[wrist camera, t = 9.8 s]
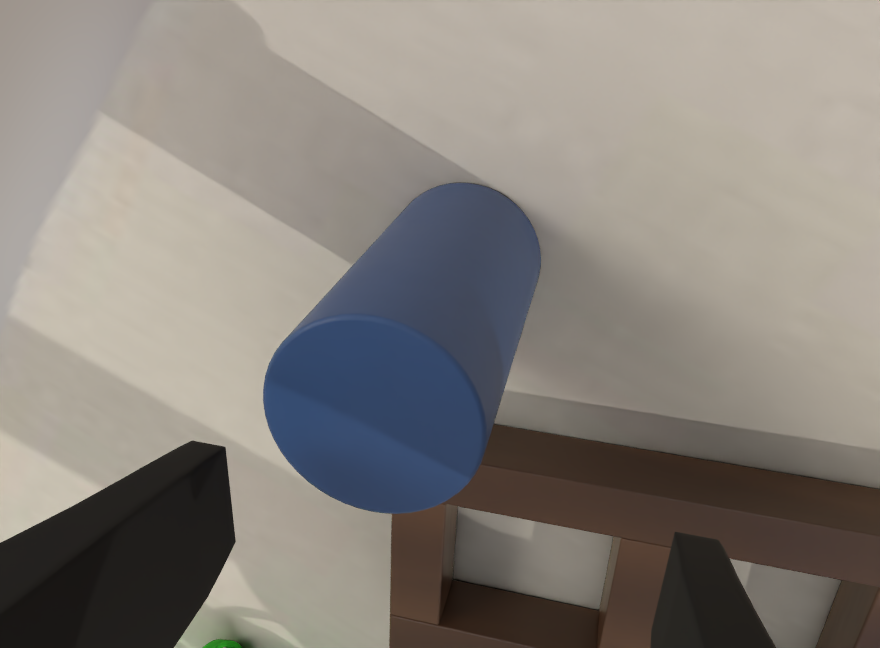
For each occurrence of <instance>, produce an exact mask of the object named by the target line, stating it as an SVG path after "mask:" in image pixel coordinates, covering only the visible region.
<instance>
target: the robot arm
mask: <svg viewBox="0 0 880 648" xmlns="http://www.w3.org/2000/svg"><path fill="white" fill-rule="evenodd" d="M234 544H235V532H234V523H233V514H232V504H231V495H230V486H229V476H228V467H227V458H226V448H225V447H223V446H217V445H212V444H207V443H201V442H196V441H191V442H189V443H187V444H185V445H183V446H180V447H179V448H177V449H175V450H173V451H171V452H169V453H167V454H166V455H164V456H162V457H160V458H158V459H156V460H155V461H153V462H151V463H149V464H148V465H146V466H144V467H142V468H140V469H139V470H137V471H135V472H133V473H132V474H130V475H128V476H126V477H125V478H123V479H121V480H119V481H117V482H116V483H114V484H112V485H110V486H108V487H107V488H105V489H103V490H101V491H99V492H98V493H96V494H94V495H92V496H90V497H88V498H87V499H85V500H83V501H81V502H79V503H78V504H76V505H74V506H72V507H70V508H68V509H66V510H64V511H62V512H60V513H58V514H57V515H55V516H53V517H51V518H49V519H47V520H45V521H43V522H41V523H39V524H37V525H35V526H33V527H31V528H29V529H27V530H25V531H23V532H21V533H19V534H17V535H15V536H13V537H11V538H9V539H7V540H5V541H3V542H1V543H0V648H174V646H175V645H176V643H177V642H178V640H179V639H180V637H181V636H182V635H183V633H184V632H185V630H186V629H187V627H188V626H189V624H190V623H191V621H192V620H193V618H194V617H195V615H196V614H197V612H198V611H199V609H200V608H201V606H202V605H203V603H204V602H205V600H206V599H207V597H208V595H209V593H210V591H211V590H212V588H213V586H214V584H215V582H216V580H217V578H218V576H219V574H220V572H221V570H222V568H223V566H224V564H225V562H226V560H227V558H228V556H229V554H230V552H231V550H232V548H233V546H234ZM651 648H776V647H775V645H774V643H773V641H772V640H771V638H770V636H769V635H768V633H767V631H766V629H765V627H764V626H763V624H762V622H761V620H760V618H759V616H758V615H757V613H756V611H755V609H754V607H753V605H752V603H751V601H750V599H749V597H748V596H747V594H746V592H745V590H744V588H743V586H742V584H741V582H740V580H739V578H738V576H737V574H736V572H735V570H734V567H733V565H732V563H731V561H730V559H729V557H728V555H727V553H726V550H725V548H724V547H723V545H722V544H721V543H720V541H719V540H717V539H712V538H707V537H701V536H696V535H691V534H685V533H680V532H675V533H674V537H673V541H672V546H671V550H670V554H669V558H668V562H667V566H666V571H665V575H664V579H663V583H662V587H661V592H660V596H659V600H658V604H657V608H656V613H655V617H654V621H653V625H652V629H651Z"/></svg>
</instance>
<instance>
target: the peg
mask: <svg viewBox="0 0 880 648" xmlns="http://www.w3.org/2000/svg"><path fill="white" fill-rule="evenodd" d="M540 268H541V253H540V246H539V242H538V238H537V236H536V233H535V230H534V228H533V226H532V225H531V223H530V221H529V219H528V218H527V217H526V215H525V214H524V213H523V211H522V210H521V209H520V208H519V207H518V206H517V205H516V204H515V203H513V202H512V201H511V200H510V199H508V198H507V197H505V196H504V195H502V194H501V193H499V192H497V191H495V190H493V189H490V188H488V187H484V186H481V185H477V184H471V183H450V184H445V185H441V186H437V187H435V188H432V189H430V190H428V191H426V192H424V193H422V194H421V195H419V196H418V197H417V198H415V199H414V200H413V201H412V202H411V203H410V204H409V205H408V206H407V207H406V208H405V209H404V210H403V211H402V212H401V214H400V215H399V216H398V217H397V218H396V219H395V220H394V221H393V222H392V223H391V224H390V226H389V227H388V228H387V229H386V230H385V231H384V232H383V233H382V234H381V235H380V236H379V238H378V239H377V240H376V241H375V242H374V243H373V244H372V245H371V246H370V247H369V248H368V250H367V251H366V252H365V253H364V254H363V255H362V256H361V257H360V258H359V259H358V260H357V262H356V263H355V264H354V265H353V266H352V267H351V268H350V269H349V270H348V271H347V272H346V274H345V275H344V276H343V277H342V278H341V279H340V280H339V281H338V282H337V283H336V284H335V286H334V287H333V288H332V289H331V290H330V291H329V292H328V293H327V294H326V295H325V296H324V298H323V299H322V300H321V301H320V302H319V303H318V304H317V305H316V306H315V307H314V308H313V310H312V311H311V312H310V313H309V314H308V315H307V316H306V317H305V318H304V319H303V320H302V322H301V323H300V324H299V325H298V326H297V327H296V328H295V329H294V330H293V331H292V332H291V334H290V335H289V336H288V337H287V338H286V339H285V340H284V341H283V342H282V343H281V345H280V346H279V348H278V349H277V350H276V352H275V353H274V355H273V357H272V359H271V361H270V363H269V366H268V369H267V372H266V375H265V382H264V389H263V403H264V410H265V416H266V419H267V423H268V426H269V429H270V431H271V434H272V436H273V438H274V440H275V442H276V444H277V446H278V447H279V449H280V451H281V452H282V454H283V455H284V456H285V458H286V459H287V460H288V462H289V463H290V464H291V465H292V466H293V467H294V469H295V470H296V471H297V472H298V473H299V474H300V475H301V476H303V477H304V478H305V479H306V480H307V481H308V482H309V483H311V484H312V485H314V486H315V487H316V488H318V489H319V490H320V491H322V492H324V493H325V494H327V495H329V496H330V497H332V498H334V499H337V500H339V501H341V502H343V503H345V504H348V505H351V506H354V507H356V508H360V509H364V510H368V511H373V512H379V513H392V514H400V513H412V512H417V511H422V510H426V509H429V508H432V507H435V506H437V505H439V504H441V503H443V502H445V501H447V500H448V499H450V498H451V497H453V496H454V495H456V494H457V493H459V492H460V491H461V490H462V489H463V488H464V487H465V486H466V485H467V484H468V483H469V482H470V480H471V479H472V478H473V476H474V475H475V474H476V472H477V470H478V468H479V466H480V464H481V462H482V459H483V456H484V453H485V450H486V447H487V444H488V440H489V437H490V434H491V431H492V427H493V424H494V421H495V418H496V414H497V411H498V408H499V405H500V401H501V398H502V395H503V392H504V388H505V385H506V382H507V378H508V375H509V372H510V369H511V365H512V362H513V359H514V356H515V352H516V349H517V346H518V343H519V339H520V336H521V333H522V330H523V326H524V323H525V320H526V317H527V313H528V310H529V307H530V304H531V300H532V297H533V294H534V291H535V287H536V284H537V281H538V278H539V273H540Z"/></svg>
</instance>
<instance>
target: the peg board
mask: <svg viewBox="0 0 880 648" xmlns="http://www.w3.org/2000/svg"><path fill="white" fill-rule="evenodd" d="M458 506H459V507H464V508H470V509H475V510H480V511H485V512H490V513H496V514H501V515H506V516H511V517H517V518H522V519H527V520H532V521H537V522H543V523H548V524H553V525H558V526H563V527H569V528H574V529H579V530H584V531H589V532H595V533H600V534H605V535H610V536H614V537H613V542H612V547H611V552H610V557H609V563H608V568H607V573H606V578H605V583H604V588H603V594H602V599H601V604H600V609H599V611H598V610H593V609H588V608H584V607H579V606H574V605H569V604H565V603H560V602H555V601H551V600H546V599H541V598H536V597H532V596H527V595H522V594H517V593H513V592H508V591H503V590H498V589H494V588H489V587H484V586H480V585H475V584H470V583H465V582H461V581H456V580H452V579H453V566H454V552H455V537H456V522H457V508H458ZM675 532H680V533H685V534H691V535H696V536H701V537H707V538H712V539H717V540H719V541H720V543H721V544H722V545H723V547H724V548H725V550H726V553H727V555H728V557H729V558H730V559H735V560H741V561H746V562H751V563H756V564H761V565H767V566H772V567H777V568H782V569H787V570H793V571H798V572H803V573H808V574H813V575H819V576H824V577H829V578H834V579H840V580H842V582H841V585H840V587H839V590H838V592H837V595H836V597H835V600H834V603H833V605H832V608H831V610H830V613H829V615H828V618H827V621H826V623H825V626H824V628H823V631H822V633H821V636H820V639H819V641H818V644H817V646H816V648H880V489H874V488H868V487H862V486H856V485H850V484H844V483H838V482H832V481H826V480H820V479H815V478H809V477H803V476H797V475H791V474H785V473H779V472H773V471H767V470H761V469H755V468H750V467H744V466H738V465H732V464H726V463H720V462H714V461H708V460H702V459H696V458H690V457H685V456H679V455H673V454H667V453H661V452H655V451H649V450H643V449H637V448H631V447H625V446H620V445H614V444H608V443H602V442H596V441H590V440H584V439H578V438H572V437H566V436H560V435H555V434H549V433H543V432H537V431H531V430H525V429H519V428H513V427H507V426H501V425H495V424H493V427H492V431H491V434H490V437H489V440H488V444H487V447H486V450H485V453H484V456H483V459H482V462H481V464H480V466H479V468H478V470H477V472H476V474H475V475H474V476H473V478H472V479H471V480H470V482H469V483H468V484H467V485H466V486H465V487H464V488H463V489H462V490H461V491H460V492H459V493H457V494H456V495H454V496H453V497H451V498H450V499H448V500H447V501H445V502H443V503H441V504H439V505H437V506H435V507H432V508H429V509H426V510H422V511H417V512H412V513H400V514H392V531H391V589H390V613H391V614H390V643H389V648H651V629H652V625H653V621H654V617H655V613H656V608H657V604H658V600H659V596H660V592H661V587H662V583H663V579H664V575H665V571H666V566H667V562H668V558H669V554H670V550H671V546H672V541H673V537H674V533H675Z"/></svg>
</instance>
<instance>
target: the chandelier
mask: <svg viewBox="0 0 880 648" xmlns="http://www.w3.org/2000/svg"><path fill="white" fill-rule="evenodd" d="M223 647H226V648H242V647H241V645H240V644H238V643H237V642H235V641H231V640H221V639H218V640H214V641H211V642H209V643H208V644H207V645H205V646H204V647H203V648H223Z"/></svg>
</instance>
